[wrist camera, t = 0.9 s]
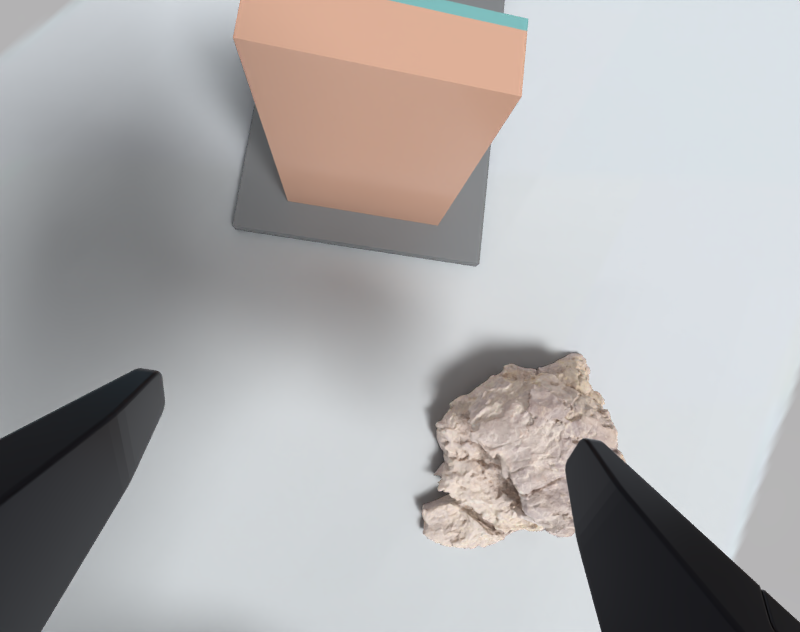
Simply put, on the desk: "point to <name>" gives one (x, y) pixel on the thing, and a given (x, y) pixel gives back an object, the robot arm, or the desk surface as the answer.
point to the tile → (380, 97)
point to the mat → (275, 215)
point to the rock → (514, 453)
